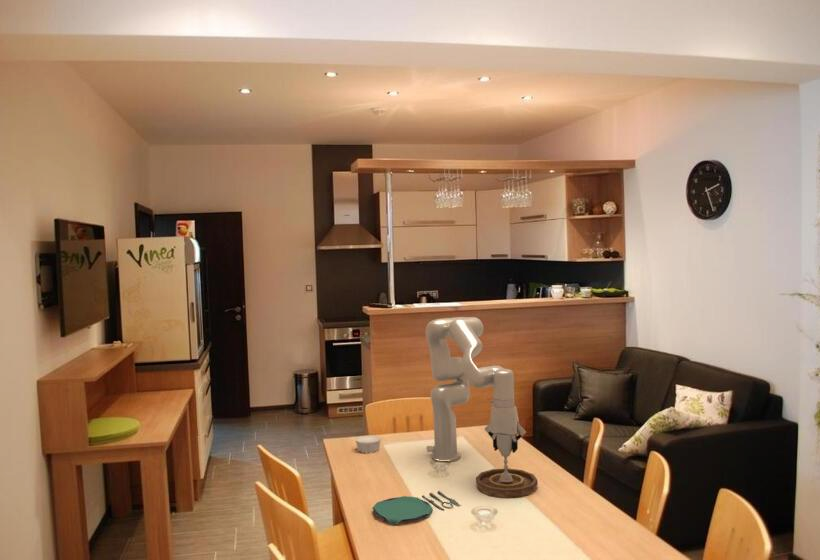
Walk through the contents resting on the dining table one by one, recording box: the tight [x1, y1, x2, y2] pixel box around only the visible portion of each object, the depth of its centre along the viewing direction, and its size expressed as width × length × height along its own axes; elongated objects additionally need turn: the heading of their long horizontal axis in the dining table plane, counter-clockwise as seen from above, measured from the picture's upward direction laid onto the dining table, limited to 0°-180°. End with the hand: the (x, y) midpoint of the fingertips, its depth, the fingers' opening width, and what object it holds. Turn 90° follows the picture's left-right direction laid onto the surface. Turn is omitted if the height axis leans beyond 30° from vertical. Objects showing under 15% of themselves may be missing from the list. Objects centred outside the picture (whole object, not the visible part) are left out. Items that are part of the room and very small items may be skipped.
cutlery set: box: [372, 490, 462, 526], centre depth 220 cm, size 20×30×2 cm, turn 118°
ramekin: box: [355, 434, 382, 453], centre depth 288 cm, size 11×11×5 cm
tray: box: [475, 467, 539, 499], centre depth 238 cm, size 22×22×3 cm
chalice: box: [496, 434, 513, 482], centre depth 238 cm, size 7×7×18 cm
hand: (505, 450), depth 238 cm, fingers closed on chalice, 6 cm apart
